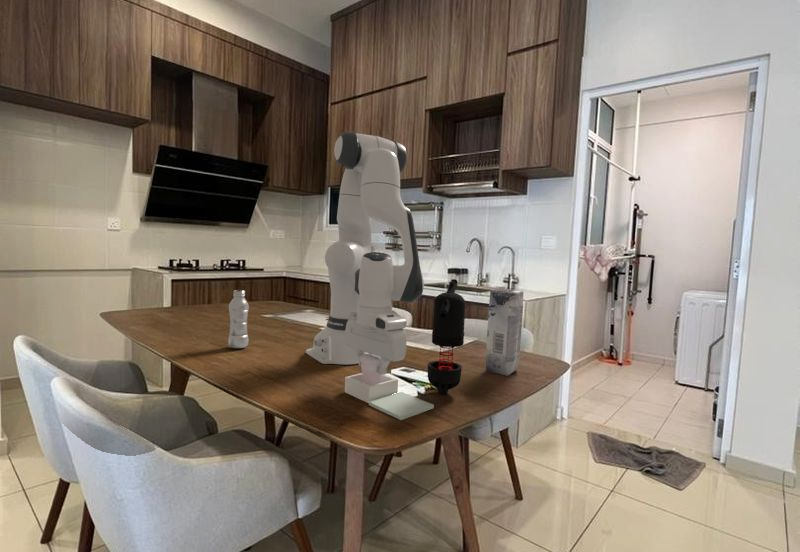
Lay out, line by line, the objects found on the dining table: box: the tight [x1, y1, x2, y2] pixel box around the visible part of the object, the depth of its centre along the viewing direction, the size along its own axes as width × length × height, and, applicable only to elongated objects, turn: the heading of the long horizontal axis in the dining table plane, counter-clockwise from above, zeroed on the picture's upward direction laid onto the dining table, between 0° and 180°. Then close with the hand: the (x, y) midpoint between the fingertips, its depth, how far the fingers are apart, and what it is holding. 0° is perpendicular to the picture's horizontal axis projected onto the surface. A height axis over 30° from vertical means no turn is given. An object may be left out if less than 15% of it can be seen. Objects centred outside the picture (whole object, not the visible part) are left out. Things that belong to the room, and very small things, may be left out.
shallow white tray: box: [344, 372, 399, 404], centre depth 108 cm, size 10×10×4 cm
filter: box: [427, 278, 466, 396], centre depth 109 cm, size 14×9×30 cm
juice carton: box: [485, 285, 524, 377], centre depth 133 cm, size 9×10×27 cm
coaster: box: [368, 391, 435, 421], centre depth 101 cm, size 11×11×1 cm
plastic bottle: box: [227, 289, 250, 350], centre depth 145 cm, size 6×7×20 cm
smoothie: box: [360, 353, 382, 386], centre depth 108 cm, size 6×6×14 cm
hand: (372, 370), depth 108 cm, fingers closed on smoothie, 6 cm apart
